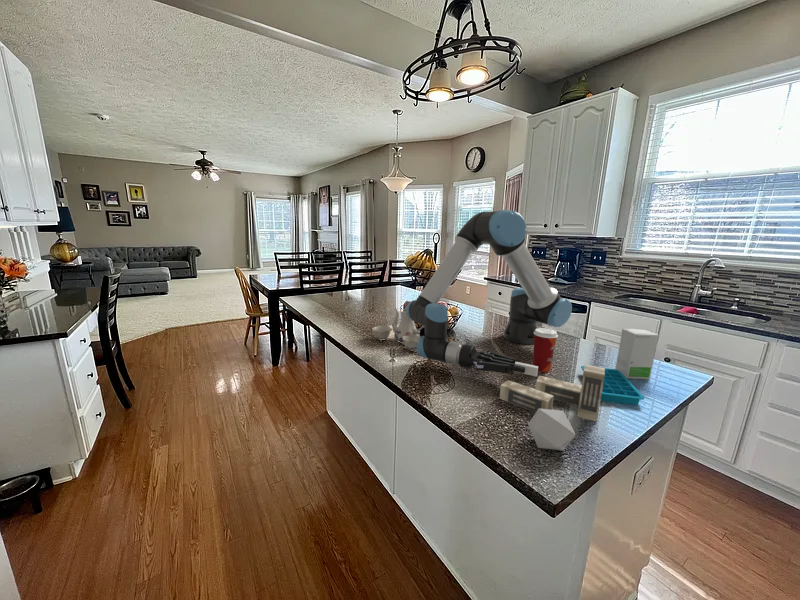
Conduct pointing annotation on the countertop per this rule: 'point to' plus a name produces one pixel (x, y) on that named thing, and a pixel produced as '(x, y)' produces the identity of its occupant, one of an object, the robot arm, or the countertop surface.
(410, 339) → the chinaware
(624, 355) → the skincare box
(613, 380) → the ice cube tray
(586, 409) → the post
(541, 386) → the post
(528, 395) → the post
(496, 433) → the countertop surface
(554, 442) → the die
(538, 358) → the paper cup
